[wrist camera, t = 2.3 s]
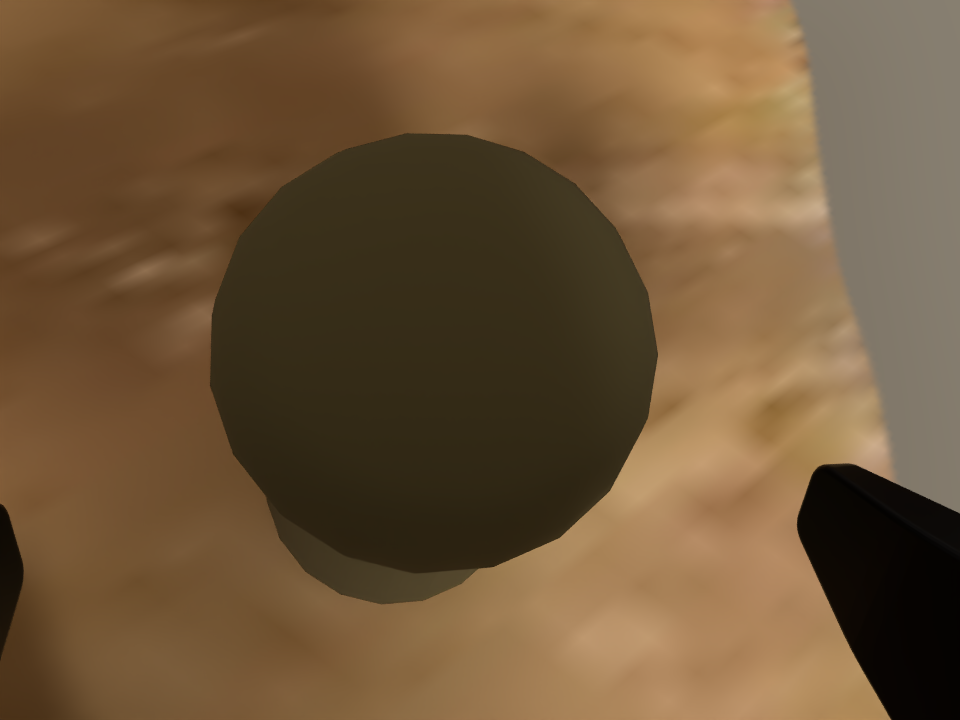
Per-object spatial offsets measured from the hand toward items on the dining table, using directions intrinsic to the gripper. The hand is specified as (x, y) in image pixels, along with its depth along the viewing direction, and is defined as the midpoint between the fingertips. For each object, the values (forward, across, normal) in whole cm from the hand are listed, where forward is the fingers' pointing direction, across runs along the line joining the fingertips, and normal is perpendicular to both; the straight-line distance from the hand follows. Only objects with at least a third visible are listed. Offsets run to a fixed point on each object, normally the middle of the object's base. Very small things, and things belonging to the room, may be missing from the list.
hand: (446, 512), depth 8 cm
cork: (+8, 0, +5) cm, 10 cm away
